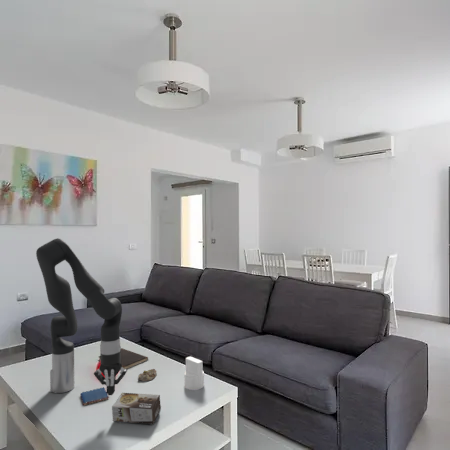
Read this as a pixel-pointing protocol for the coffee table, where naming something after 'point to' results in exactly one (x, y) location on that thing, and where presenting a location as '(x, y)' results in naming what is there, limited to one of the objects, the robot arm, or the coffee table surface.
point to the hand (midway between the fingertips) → (110, 394)
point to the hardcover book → (130, 358)
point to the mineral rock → (147, 375)
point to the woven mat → (94, 396)
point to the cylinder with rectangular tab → (194, 374)
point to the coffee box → (136, 408)
